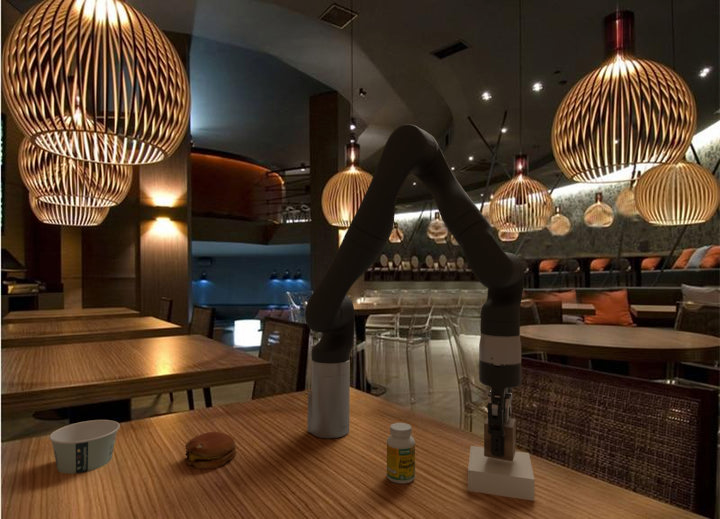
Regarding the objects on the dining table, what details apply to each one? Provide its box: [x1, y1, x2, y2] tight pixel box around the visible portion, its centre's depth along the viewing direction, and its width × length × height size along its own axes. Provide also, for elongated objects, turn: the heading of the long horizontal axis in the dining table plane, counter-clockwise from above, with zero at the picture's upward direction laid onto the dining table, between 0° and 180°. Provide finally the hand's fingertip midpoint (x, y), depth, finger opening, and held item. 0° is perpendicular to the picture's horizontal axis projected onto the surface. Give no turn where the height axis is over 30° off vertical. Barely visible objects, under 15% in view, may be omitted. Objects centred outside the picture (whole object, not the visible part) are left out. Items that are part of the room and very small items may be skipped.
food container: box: [48, 419, 121, 475], centre depth 87 cm, size 12×12×6 cm
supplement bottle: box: [386, 422, 416, 485], centre depth 82 cm, size 5×5×10 cm
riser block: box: [467, 445, 535, 502], centre depth 81 cm, size 11×11×4 cm
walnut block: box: [483, 416, 517, 462], centre depth 81 cm, size 5×5×6 cm
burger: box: [184, 431, 237, 470], centre depth 89 cm, size 10×9×5 cm
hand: (499, 449), depth 81 cm, fingers closed on walnut block, 5 cm apart
